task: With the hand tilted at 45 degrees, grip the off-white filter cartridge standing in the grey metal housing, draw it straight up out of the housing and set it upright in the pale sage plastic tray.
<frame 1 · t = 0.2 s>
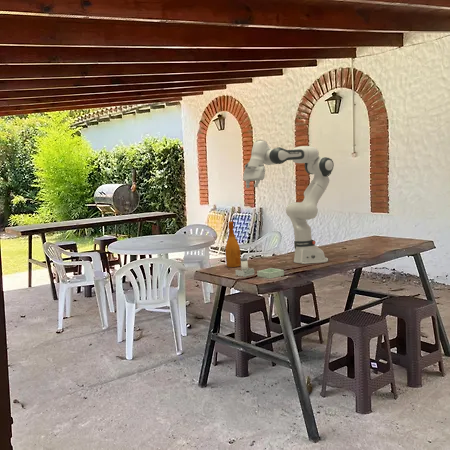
hand: (251, 187, 313), 52 cm above the table, tool tilted 20°, fingers open, 8 cm apart
wine bottle: (233, 266, 339), on the table
cartridge: (244, 266, 307), in the housing
housing: (245, 274, 308), on the table
tray: (270, 275, 300), on the table
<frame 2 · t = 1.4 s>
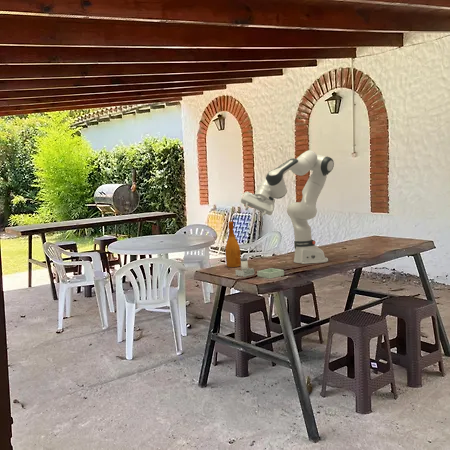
hand: (253, 212, 302), 37 cm above the table, tool tilted 55°, fingers open, 8 cm apart
nothing on the table moved.
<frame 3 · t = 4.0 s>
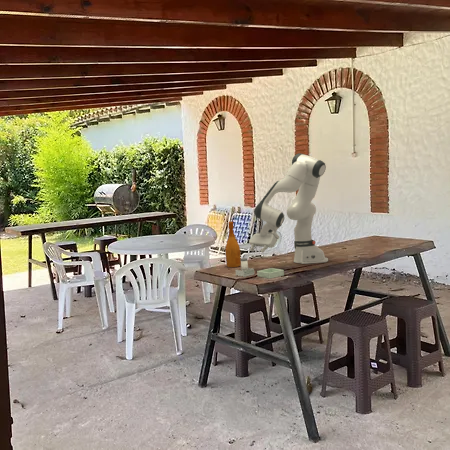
hand: (256, 251, 311), 13 cm above the table, tool tilted 45°, fingers open, 8 cm apart
nothing on the table moved.
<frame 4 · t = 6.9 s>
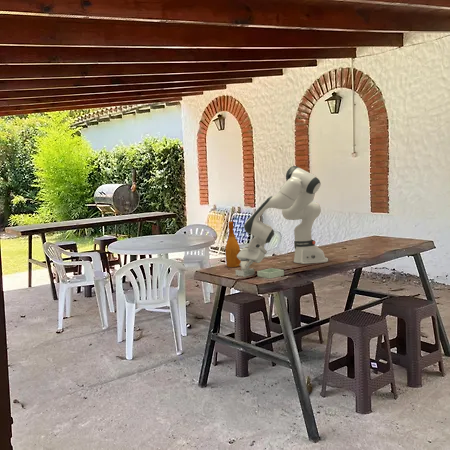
hand: (243, 266, 307), 5 cm above the table, tool tilted 45°, fingers closed on cartridge, 4 cm apart
cartridge: (244, 266, 307), in the housing, touching gripper
everything else where it was.
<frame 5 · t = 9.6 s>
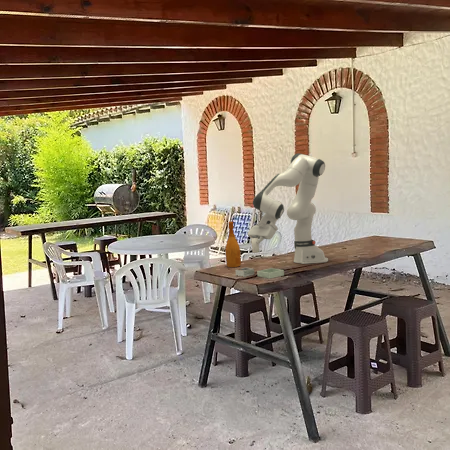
hand: (254, 243, 302), 19 cm above the table, tool tilted 45°, fingers closed on cartridge, 4 cm apart
cartridge: (255, 243, 302), point 19 cm above the table, touching gripper
everything else where it was.
when the fingers open (7 cm above the table, at t = 12.7 s): cartridge drops 1 cm, resting on tray.
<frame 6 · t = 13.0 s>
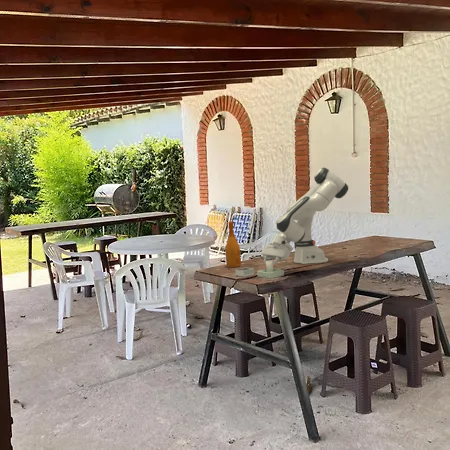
hand: (269, 263, 299), 7 cm above the table, tool tilted 45°, fingers open, 6 cm apart
cartridge: (269, 266, 299), in the tray, point 6 cm above the table
everything else where it was.
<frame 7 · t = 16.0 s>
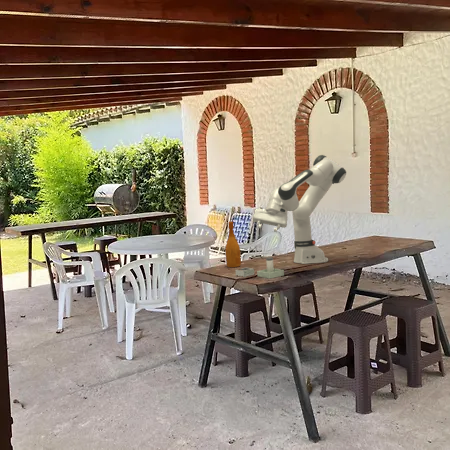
hand: (267, 229, 295), 28 cm above the table, tool tilted 45°, fingers open, 8 cm apart
nothing on the table moved.
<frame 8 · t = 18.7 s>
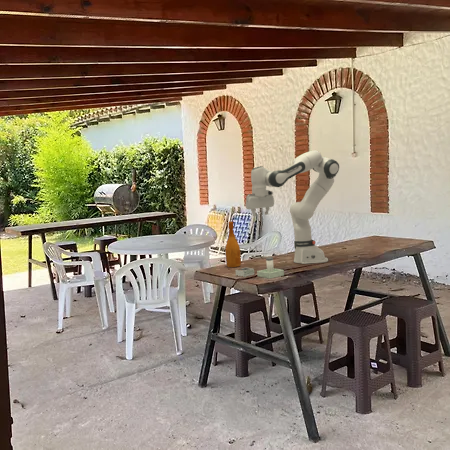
hand: (260, 215, 317), 34 cm above the table, tool pointing down, fingers open, 8 cm apart
nothing on the table moved.
at the end: cartridge 0.1 cm off-centre on the tray, point 5.6 cm above the tray's base; cartridge tilted 0°; the gripper is holding nothing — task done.
